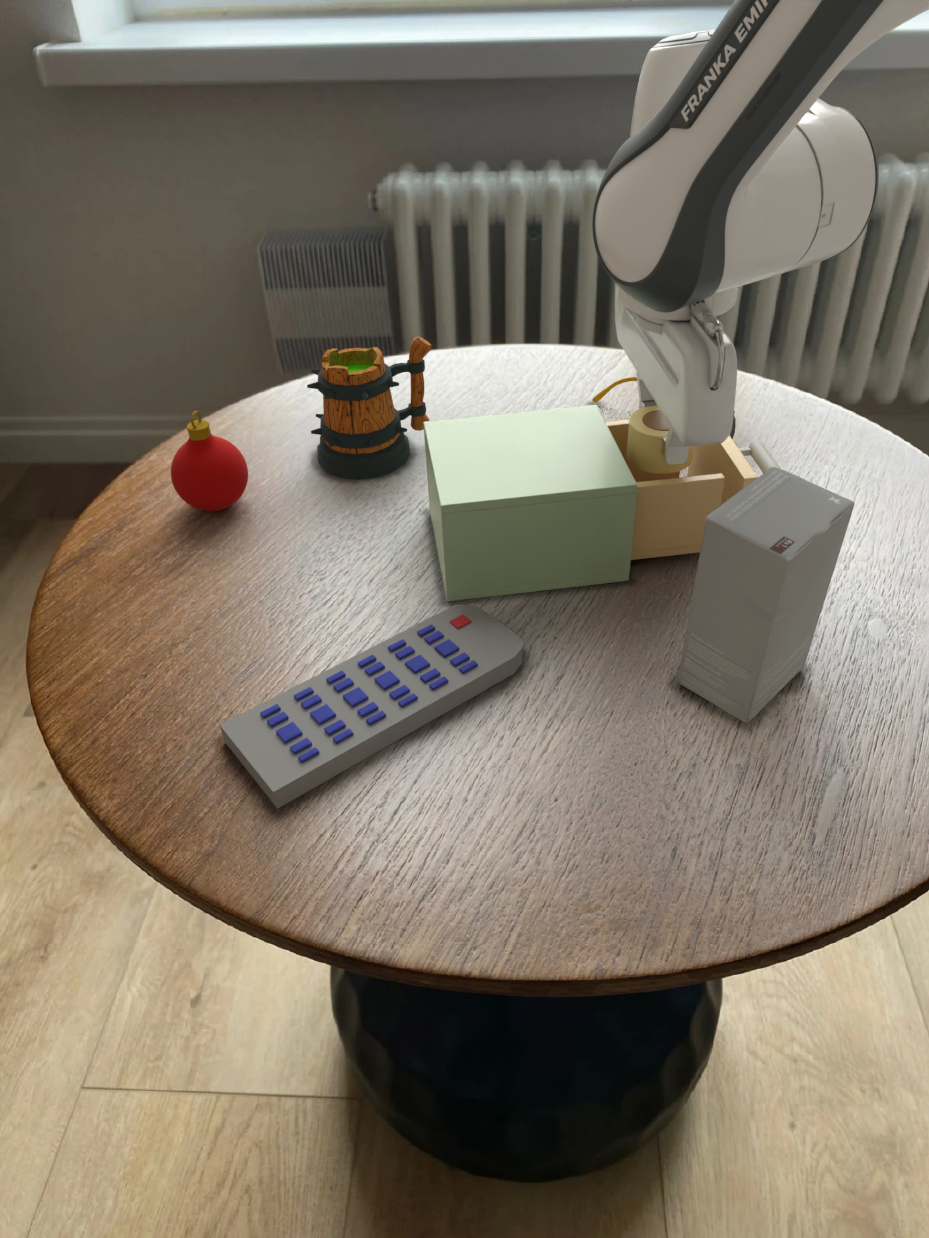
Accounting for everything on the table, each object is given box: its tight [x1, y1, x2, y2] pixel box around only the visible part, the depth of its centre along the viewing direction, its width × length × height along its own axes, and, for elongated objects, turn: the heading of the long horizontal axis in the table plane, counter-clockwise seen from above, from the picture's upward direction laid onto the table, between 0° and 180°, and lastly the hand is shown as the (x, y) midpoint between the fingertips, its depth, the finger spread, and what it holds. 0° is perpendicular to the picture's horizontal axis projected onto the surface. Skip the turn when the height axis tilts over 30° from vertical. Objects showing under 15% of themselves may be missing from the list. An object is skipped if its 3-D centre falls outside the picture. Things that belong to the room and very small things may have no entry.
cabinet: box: [423, 404, 637, 602], centre depth 83 cm, size 16×14×10 cm
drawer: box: [605, 418, 782, 561], centre depth 84 cm, size 19×12×8 cm, turn 98°
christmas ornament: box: [170, 410, 249, 512], centre depth 90 cm, size 7×7×10 cm
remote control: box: [219, 603, 524, 809], centre depth 71 cm, size 8×23×2 cm, turn 127°
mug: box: [306, 336, 432, 480], centre depth 96 cm, size 13×10×12 cm
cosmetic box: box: [676, 467, 855, 724], centre depth 67 cm, size 8×7×16 cm
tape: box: [627, 405, 693, 474], centre depth 81 cm, size 6×6×4 cm
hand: (661, 438), depth 81 cm, fingers closed on tape, 5 cm apart
